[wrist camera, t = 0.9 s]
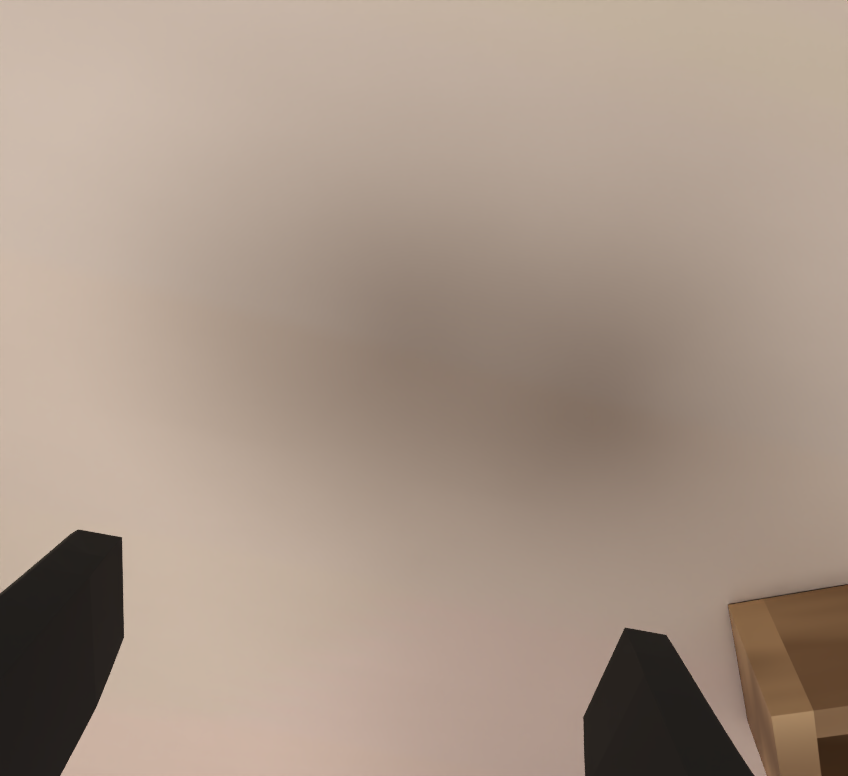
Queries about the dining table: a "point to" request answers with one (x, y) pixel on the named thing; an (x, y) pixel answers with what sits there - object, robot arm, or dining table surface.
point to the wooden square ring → (796, 679)
